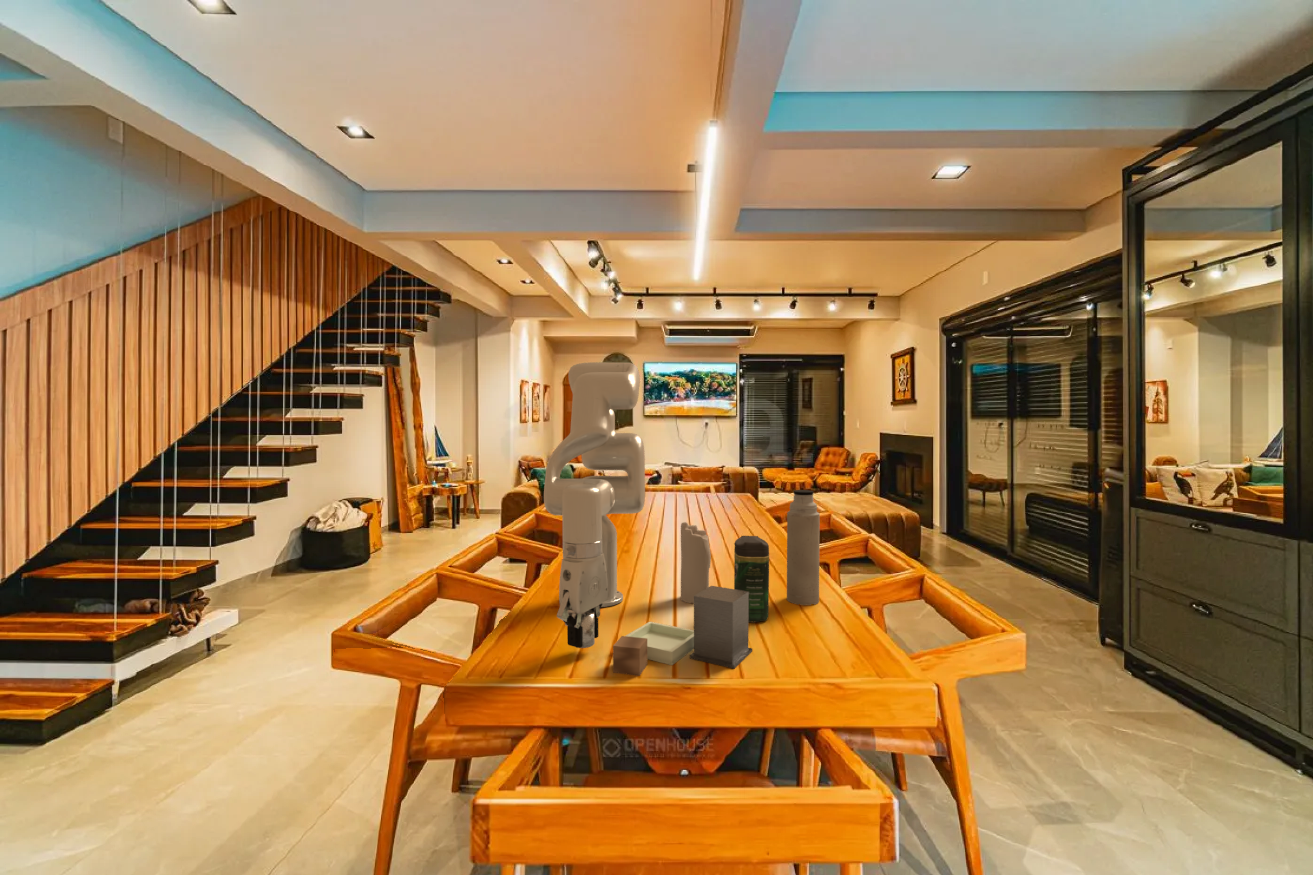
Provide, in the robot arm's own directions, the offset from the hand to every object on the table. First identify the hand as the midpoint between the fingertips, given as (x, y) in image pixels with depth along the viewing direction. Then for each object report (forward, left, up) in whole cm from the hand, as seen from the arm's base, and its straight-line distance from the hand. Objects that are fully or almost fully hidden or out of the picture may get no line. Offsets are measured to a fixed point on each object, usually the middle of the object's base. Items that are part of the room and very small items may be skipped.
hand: (583, 640), depth 113 cm
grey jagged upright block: (+7, +43, -3) cm, 44 cm away
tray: (+12, +10, -3) cm, 16 cm away
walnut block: (+12, -1, -3) cm, 12 cm away
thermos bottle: (+28, +55, -3) cm, 62 cm away
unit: (+24, +13, -3) cm, 27 cm away
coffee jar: (+21, +37, -3) cm, 43 cm away
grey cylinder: (0, 0, -1) cm, 1 cm away
